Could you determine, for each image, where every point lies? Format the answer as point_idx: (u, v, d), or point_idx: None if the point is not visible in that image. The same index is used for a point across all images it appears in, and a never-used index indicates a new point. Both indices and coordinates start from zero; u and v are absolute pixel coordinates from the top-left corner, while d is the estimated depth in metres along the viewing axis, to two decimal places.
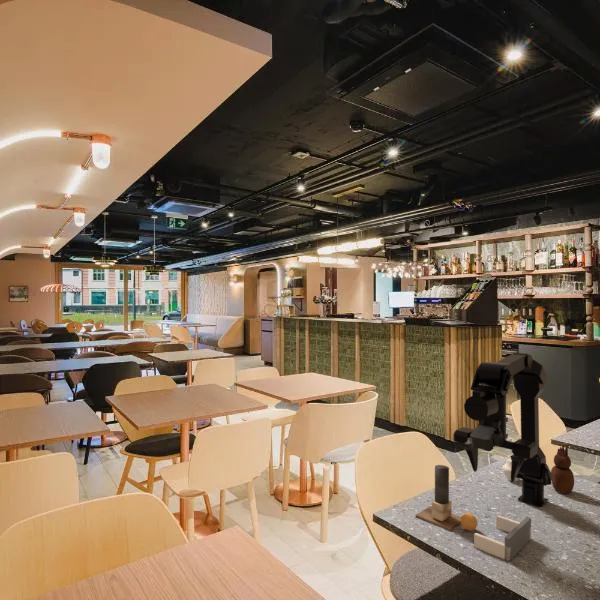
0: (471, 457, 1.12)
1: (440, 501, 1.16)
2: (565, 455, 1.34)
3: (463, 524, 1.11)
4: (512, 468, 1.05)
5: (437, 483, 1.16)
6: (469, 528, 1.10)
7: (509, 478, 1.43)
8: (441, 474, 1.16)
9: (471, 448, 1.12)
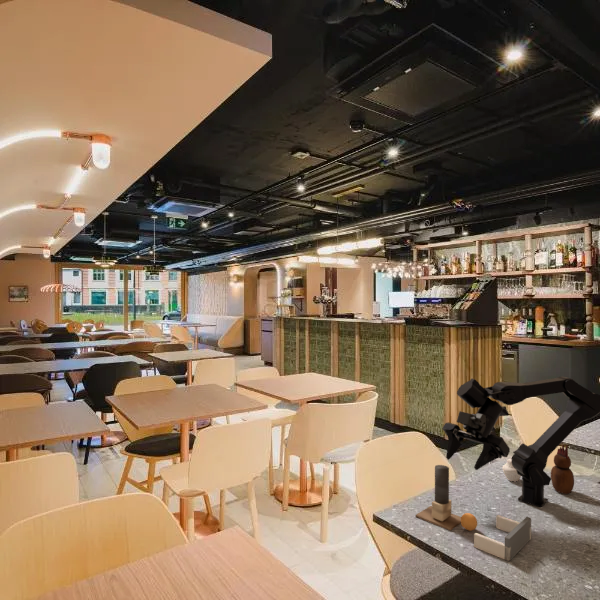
0: (450, 445, 1.27)
1: (440, 501, 1.16)
2: (565, 455, 1.34)
3: (463, 524, 1.11)
4: (480, 455, 1.18)
5: (437, 483, 1.16)
6: (469, 528, 1.10)
7: (509, 478, 1.43)
8: (441, 474, 1.16)
9: (453, 438, 1.27)
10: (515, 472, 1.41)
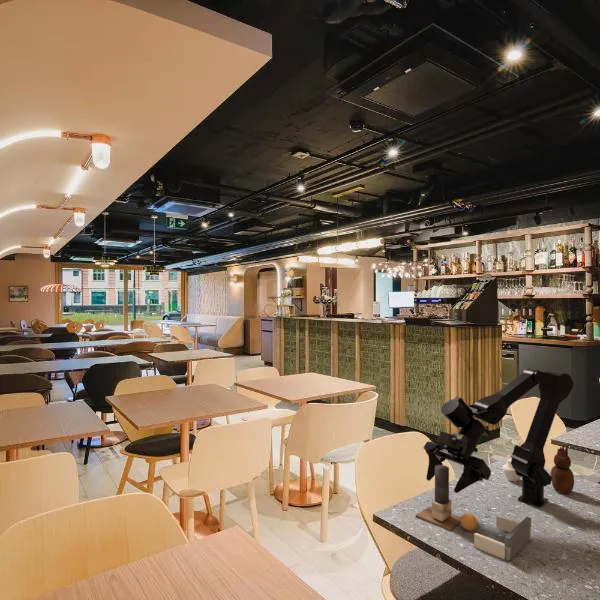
0: (430, 465, 1.22)
1: (440, 501, 1.16)
2: (565, 455, 1.34)
3: (463, 524, 1.11)
4: (460, 478, 1.14)
5: (437, 483, 1.16)
6: (469, 528, 1.10)
7: (509, 478, 1.43)
8: (441, 474, 1.16)
9: (434, 458, 1.23)
10: None
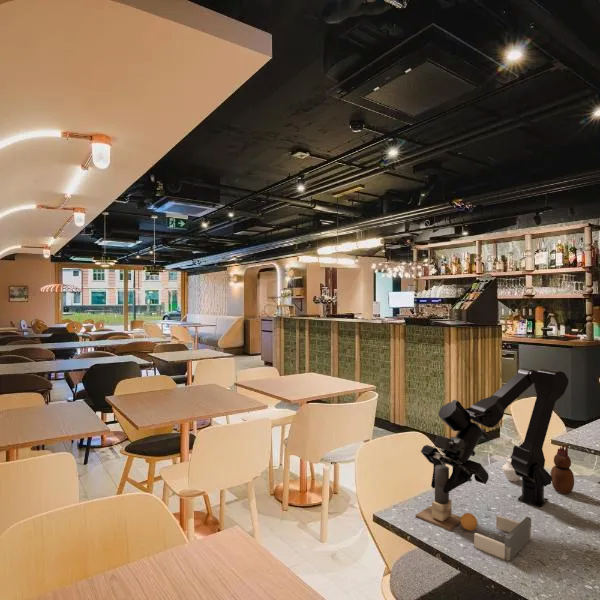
0: None
1: (440, 501, 1.16)
2: (565, 455, 1.34)
3: (463, 524, 1.11)
4: (449, 478, 1.15)
5: (437, 483, 1.16)
6: (469, 528, 1.10)
7: (509, 478, 1.43)
8: (441, 474, 1.16)
9: None
10: None
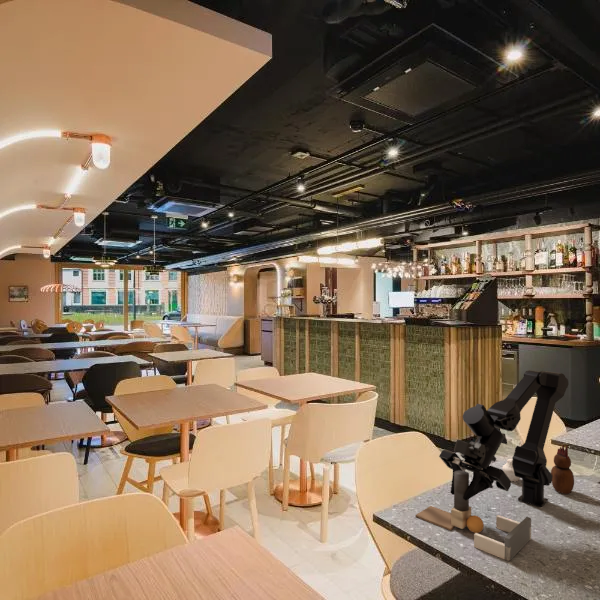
0: None
1: (460, 508, 1.12)
2: (565, 455, 1.34)
3: (469, 525, 1.10)
4: (470, 485, 1.11)
5: (457, 489, 1.12)
6: (472, 531, 1.09)
7: (509, 478, 1.43)
8: (461, 480, 1.12)
9: (459, 470, 1.16)
10: None
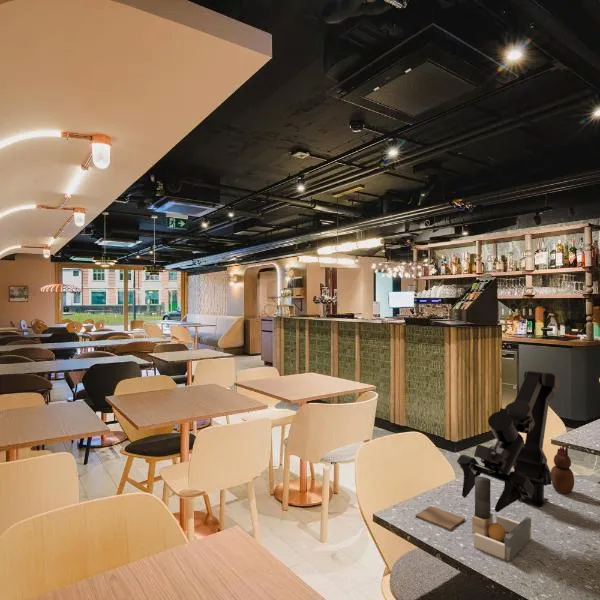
0: (466, 481, 1.14)
1: (481, 516, 1.08)
2: (565, 455, 1.34)
3: (496, 535, 1.05)
4: (501, 495, 1.05)
5: (478, 496, 1.08)
6: (491, 529, 1.06)
7: None
8: (483, 486, 1.08)
9: (470, 473, 1.15)
10: None
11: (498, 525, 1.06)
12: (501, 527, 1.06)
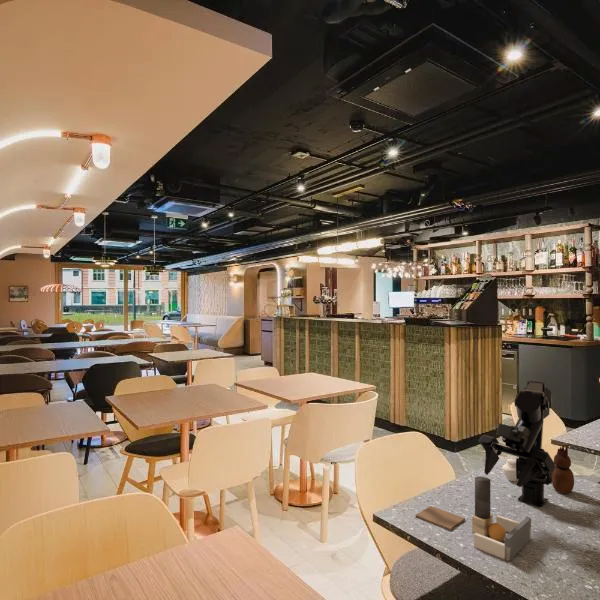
0: (488, 459, 1.19)
1: (481, 516, 1.08)
2: (565, 455, 1.34)
3: (496, 535, 1.05)
4: (523, 471, 1.10)
5: (478, 496, 1.08)
6: (492, 529, 1.06)
7: (509, 478, 1.43)
8: (483, 486, 1.08)
9: (491, 451, 1.20)
10: (515, 472, 1.41)
11: (498, 525, 1.06)
12: (501, 527, 1.06)
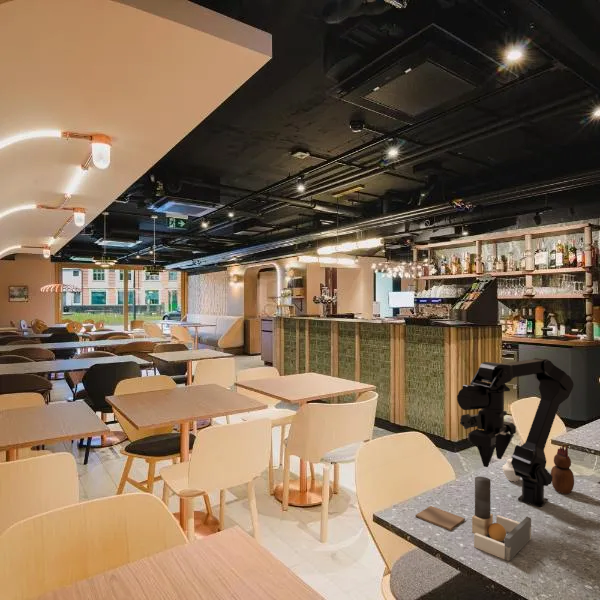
0: None
1: (481, 516, 1.08)
2: (565, 455, 1.34)
3: (496, 535, 1.05)
4: None
5: (478, 496, 1.08)
6: (492, 529, 1.06)
7: (509, 478, 1.43)
8: (483, 486, 1.08)
9: None
10: None
11: (499, 525, 1.06)
12: (502, 527, 1.06)
